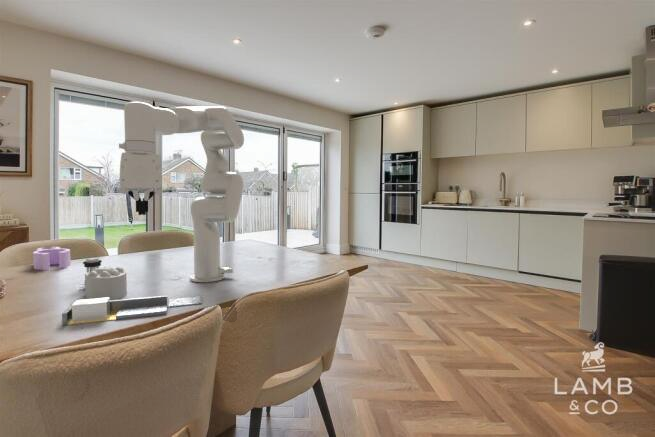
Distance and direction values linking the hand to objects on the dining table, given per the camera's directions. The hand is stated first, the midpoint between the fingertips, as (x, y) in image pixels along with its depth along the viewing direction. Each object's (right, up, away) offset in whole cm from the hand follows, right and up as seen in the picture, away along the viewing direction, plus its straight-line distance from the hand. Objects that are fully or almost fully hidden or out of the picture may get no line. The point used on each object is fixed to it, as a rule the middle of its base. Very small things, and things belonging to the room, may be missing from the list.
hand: (142, 214), depth 98 cm
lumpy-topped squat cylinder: (-18, -26, +13) cm, 35 cm away
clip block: (-10, -27, -7) cm, 30 cm away
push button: (-29, -25, +22) cm, 44 cm away
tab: (+9, -27, +8) cm, 29 cm away
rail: (-4, -27, -3) cm, 28 cm away
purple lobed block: (-69, -22, +54) cm, 90 cm away
